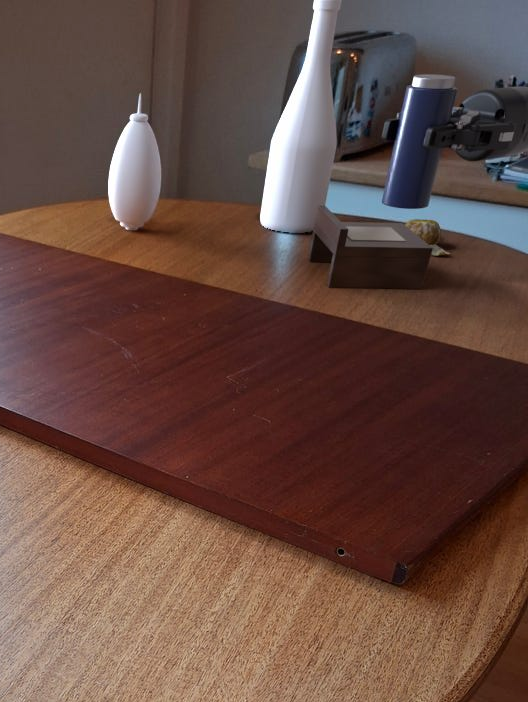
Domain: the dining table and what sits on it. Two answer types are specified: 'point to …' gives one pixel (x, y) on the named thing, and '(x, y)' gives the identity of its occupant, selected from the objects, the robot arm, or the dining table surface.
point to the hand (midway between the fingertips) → (406, 134)
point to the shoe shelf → (369, 253)
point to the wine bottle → (304, 136)
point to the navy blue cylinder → (418, 141)
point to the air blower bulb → (135, 173)
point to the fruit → (428, 233)
